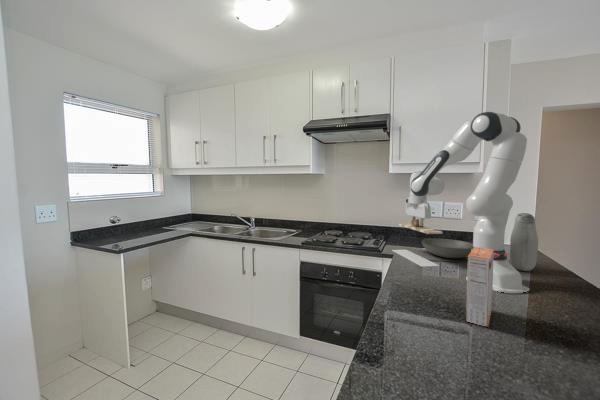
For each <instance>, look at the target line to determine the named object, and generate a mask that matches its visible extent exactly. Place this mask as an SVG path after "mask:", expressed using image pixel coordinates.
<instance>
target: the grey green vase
mask: <svg viewBox="0 0 600 400" xmlns="http://www.w3.org/2000/svg"><path fill="white" fill-rule="evenodd" d="M509 242H510V247H509V251H510V252H509V261H510V264H511V265H512V266H513V267H514V268H515V269H516V270H517V271H522V272H530V271H532V270H533V269H535V267H536V265H537V261H538V249H539V236H538V232H537V228H536V219H535V217H534V215H533V214H530V213H528V212H521V213H518V214H517V215H516V216H515V218H514V223H513V227H512V232H511V234H510V241H509Z"/></svg>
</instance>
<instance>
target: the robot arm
mask: <svg viewBox="0 0 600 400" xmlns="http://www.w3.org/2000/svg"><path fill="white" fill-rule="evenodd" d="M481 141H485V142H491V144H492V150H491V152H490V156H489V158H488V162H487V165H486V167H485V170H484V173H483V175H482V177H481V179H480V180H479V182H478V184H477V186H476V187H475V189H474V190H473V192H472V193H471V194H470V195H469V196H468V197H467V198H466V201H465V206H466V210H467V211H468V212H469V213H470V214H471V215H473V216H475V217H478V219H477V222H476V224H475V225H474V227H473V234H472V235H473V237H472V244H473V246H472V249H473V248H474V247H479V248H486V249H493V250H494V257H493V289H492V291H494V292H497V291H498V292H497V293H501V292H504V293H503V294H524V293H523V292H526V293H528V292H527V291H529V290H530V287H528V286H525V285H524V284H523V278H522V275H521V273H520V272H519V270H518V269H516V268H514V267H513V266H512V264H511V262H509V260H508V256H510V253H506V250H505V248H504V247H505V233H506V227H507V223H508V219H509V215H510V212H511V209H512V208H513V205H514V201H513V198H512V197H511V196H510V195H509V194H508V193H507V192H508V191H509V189H510V188H511V186H512V185H513V184H514V183H515V182H516V179H517V177H518V174H519V171H520V168H521V165H522V163H523V161H524V157H525V153H526V149H527V144H528V138H527V137H526V135H525V134H523V133H521V124H520V122H519V121H518V120H517V119H516V118H514V117H511V116H508V115H507V114H504V113H498V112H493V111H484V112H480V113H478V114H476V115H475V116H474V118H473V119H471V120H470V119H469V120H467V121H465V122H464V123H463V124H462V126H460V127H459V128H458V129H457V130H456V132H455V133H454V135H453V136H452V137H451V139H450V140H449V141H448V142H447V144H446V145H445V146H444V147H443V148H442V149H441V150H440V151H439V152H438V153H436V155H434V156H433V158H432V159H431V160H430V162H428V164H427V165H426V166H425V167H424V168H423V170H422V171H421V170H420V171H415V172H413V173H411V175H410V178H409V189H410V191H409V197H407V198H405V200H404V203H405V206H404V207H405V209H404V211H405V215H407V216H410V217H411V220H412V219H416V218H418V219H419V220H420V221H419V222H418V225H419V226H422V225H423V226H424V222H425V220H428V219H431V217H432V211H431V210H432V209H431V205H430V203H429V202H428V201H427V200H428V199H427V198H428V197H427V196H436V195H440V194H441V193H443V191H444V187H445V183H444V180H443V179H441V178H440V177H436V176H437V175H438V174H439V173H440V171H441V170H443V169H444V168H445V167H447V166H449V165H453V164H455V163H460V162H462V161H465V160H466V159H467V158H468V157H469V156H470V155H471V154H472V153H473V151H475V149H476V147H478V145H479V144H480V142H481ZM472 249H471V251H472ZM465 280H466V281H467V276H466V277H465ZM529 292H530V291H529Z"/></svg>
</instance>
